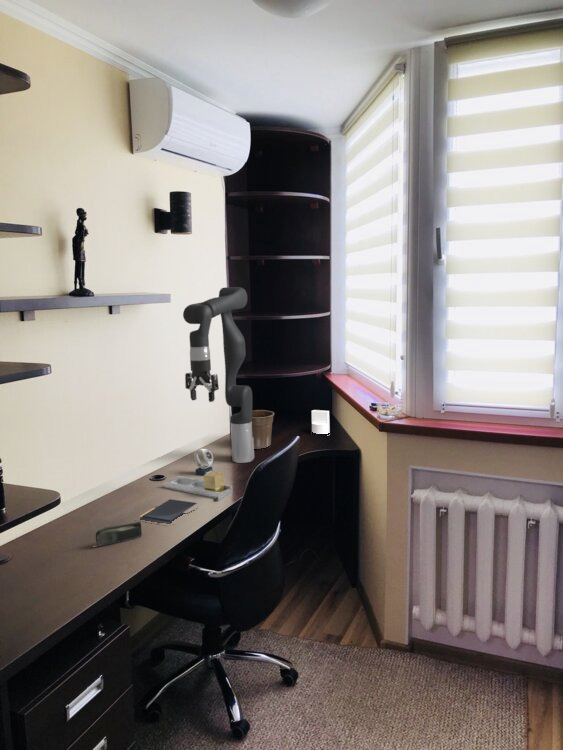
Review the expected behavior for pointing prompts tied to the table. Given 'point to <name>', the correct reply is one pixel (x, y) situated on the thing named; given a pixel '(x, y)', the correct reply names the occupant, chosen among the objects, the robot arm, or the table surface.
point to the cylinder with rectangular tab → (320, 422)
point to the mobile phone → (118, 533)
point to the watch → (207, 457)
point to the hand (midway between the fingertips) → (202, 400)
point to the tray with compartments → (197, 487)
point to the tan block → (214, 481)
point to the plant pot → (262, 428)
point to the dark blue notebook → (167, 511)
